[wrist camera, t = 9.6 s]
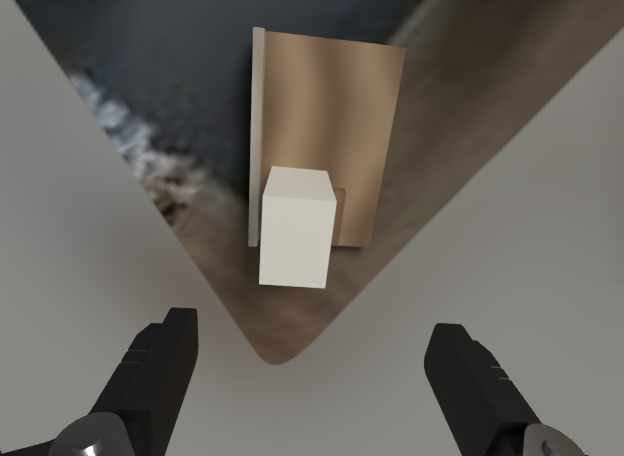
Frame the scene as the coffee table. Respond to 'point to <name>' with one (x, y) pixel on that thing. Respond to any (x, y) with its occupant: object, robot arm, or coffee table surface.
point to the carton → (296, 227)
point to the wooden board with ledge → (323, 121)
